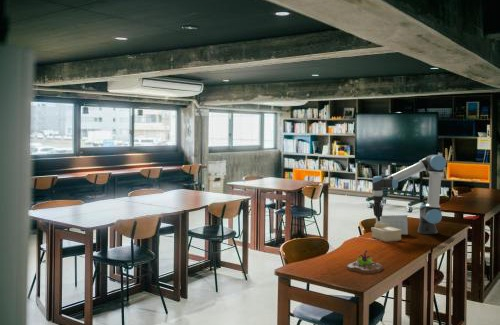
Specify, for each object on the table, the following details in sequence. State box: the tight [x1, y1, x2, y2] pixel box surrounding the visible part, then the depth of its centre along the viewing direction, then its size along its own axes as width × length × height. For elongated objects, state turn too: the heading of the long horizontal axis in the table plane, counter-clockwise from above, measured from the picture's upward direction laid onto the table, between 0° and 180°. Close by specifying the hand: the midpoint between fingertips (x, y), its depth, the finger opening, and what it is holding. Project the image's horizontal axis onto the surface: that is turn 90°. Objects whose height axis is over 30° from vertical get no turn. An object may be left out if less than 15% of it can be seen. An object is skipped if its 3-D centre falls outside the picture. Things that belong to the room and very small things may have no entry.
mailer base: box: [371, 230, 402, 243], centre depth 356 cm, size 14×18×7 cm
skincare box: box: [380, 214, 409, 236], centre depth 373 cm, size 21×6×16 cm, turn 84°
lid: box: [370, 223, 402, 234], centre depth 356 cm, size 16×18×5 cm
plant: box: [346, 249, 384, 275], centre depth 275 cm, size 20×20×11 cm
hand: (378, 224), depth 367 cm, fingers closed
